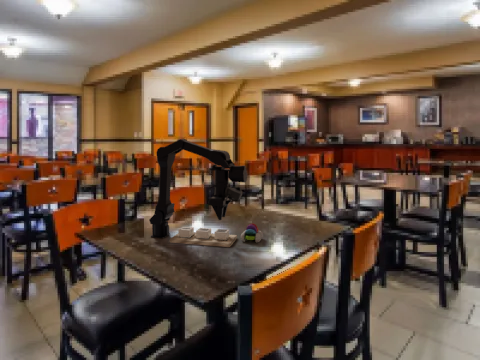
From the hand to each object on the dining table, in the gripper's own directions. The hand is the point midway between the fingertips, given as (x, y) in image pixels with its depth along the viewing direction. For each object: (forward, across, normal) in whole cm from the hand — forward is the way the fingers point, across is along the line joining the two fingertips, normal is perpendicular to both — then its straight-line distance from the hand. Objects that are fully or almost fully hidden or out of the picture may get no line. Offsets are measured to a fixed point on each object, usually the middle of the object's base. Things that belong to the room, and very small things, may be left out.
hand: (221, 218), depth 144 cm
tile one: (+8, 0, +16) cm, 18 cm away
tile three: (+8, 0, 0) cm, 8 cm away
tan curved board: (+10, 0, +8) cm, 13 cm away
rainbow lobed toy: (+10, +5, -12) cm, 17 cm away
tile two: (+8, 0, +8) cm, 12 cm away
